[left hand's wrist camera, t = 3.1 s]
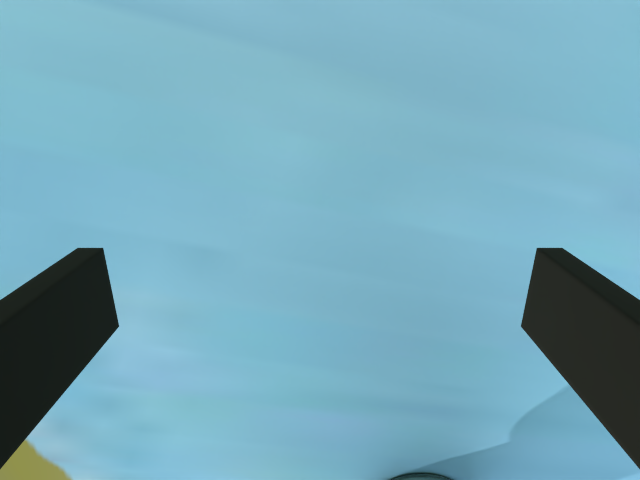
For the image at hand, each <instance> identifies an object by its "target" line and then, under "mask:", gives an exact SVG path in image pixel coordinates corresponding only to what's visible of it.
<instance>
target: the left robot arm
mask: <svg viewBox="0 0 640 480" xmlns="http://www.w3.org/2000/svg"><path fill="white" fill-rule="evenodd" d="M118 327H119V324H118V319H117V314H116V309H115V304H114V299H113V294H112V289H111V285H110V280H109V275H108V270H107V265H106V260H105V255H104V250H103V248H77V249H76V250H74V251H73V252H71V253H70V254H68V255H67V256H65V257H64V258H62V259H61V260H59V261H58V262H56V263H55V264H53V265H52V266H50V267H49V268H47V269H46V270H44V271H43V272H41V273H40V274H38V275H37V276H35V277H34V278H33V279H31V280H30V281H28V282H27V283H25V284H24V285H22V286H21V287H19V288H18V289H16V290H15V291H13V292H12V293H10V294H9V295H7V296H6V297H4V298H3V299H1V300H0V469H1V468H2V466H3V465H4V464H5V463H6V462H7V460H8V459H9V458H10V457H11V455H12V454H13V453H14V452H15V451H16V450H17V448H18V447H19V446H20V445H21V443H22V442H23V441H24V440H25V439H26V438H27V436H28V435H29V434H30V433H31V432H32V430H33V429H34V428H35V427H36V425H37V424H38V423H39V422H40V421H41V419H42V418H43V417H44V416H45V415H46V413H47V412H48V411H49V410H50V409H51V407H52V406H53V405H54V404H55V403H56V401H57V400H58V399H59V398H60V397H61V395H62V394H63V393H64V392H65V391H66V389H67V388H68V387H69V386H70V385H71V383H72V382H73V381H74V380H75V379H76V377H77V376H78V375H79V374H80V373H81V371H82V370H83V369H84V368H85V367H86V365H87V364H88V363H89V362H90V361H91V359H92V358H93V357H94V356H95V355H96V353H97V352H98V351H99V350H100V349H101V347H102V346H103V345H104V344H105V343H106V341H107V340H108V339H109V338H110V337H111V335H112V334H113V333H114V332H115V331H116V329H117V328H118ZM521 327H522V328H523V329H524V331H525V332H526V333H527V334H528V335H529V337H530V338H531V339H532V340H533V341H534V343H535V344H536V345H537V346H538V347H539V349H540V350H541V351H542V352H543V353H544V355H545V356H546V357H547V358H548V359H549V361H550V362H551V363H552V364H553V365H554V367H555V368H556V369H557V370H558V371H559V373H560V374H561V375H562V376H563V377H564V379H565V380H566V381H567V382H568V383H569V385H570V386H571V387H572V388H573V389H574V391H575V392H576V393H577V394H578V395H579V397H580V398H581V399H582V400H583V401H584V403H585V404H586V405H587V406H588V407H589V409H590V410H591V411H592V412H593V413H594V415H595V416H596V417H597V418H598V419H599V421H600V422H601V423H602V424H603V426H604V427H605V428H606V429H607V430H608V432H609V433H610V434H611V435H612V436H613V438H614V439H615V440H616V441H617V442H618V444H619V445H620V446H621V447H622V448H623V450H624V451H625V452H626V453H627V454H628V456H629V457H630V458H631V459H632V460H633V462H634V463H635V464H636V465H637V466H638V468H639V469H640V300H639V299H637V298H636V297H634V296H633V295H631V294H630V293H628V292H627V291H625V290H624V289H622V288H621V287H619V286H618V285H616V284H615V283H613V282H612V281H610V280H609V279H607V278H606V277H605V276H603V275H602V274H600V273H599V272H597V271H596V270H594V269H593V268H591V267H590V266H588V265H587V264H585V263H584V262H582V261H581V260H579V259H578V258H576V257H575V256H573V255H572V254H570V253H569V252H567V251H566V250H564V249H563V248H537V250H536V255H535V260H534V265H533V270H532V275H531V280H530V285H529V289H528V294H527V299H526V304H525V309H524V314H523V319H522V324H521ZM392 480H451V479H448V478H446V477H442V476H439V475H433V474H411V475H405V476H401V477H398V478H395V479H392Z"/></svg>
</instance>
